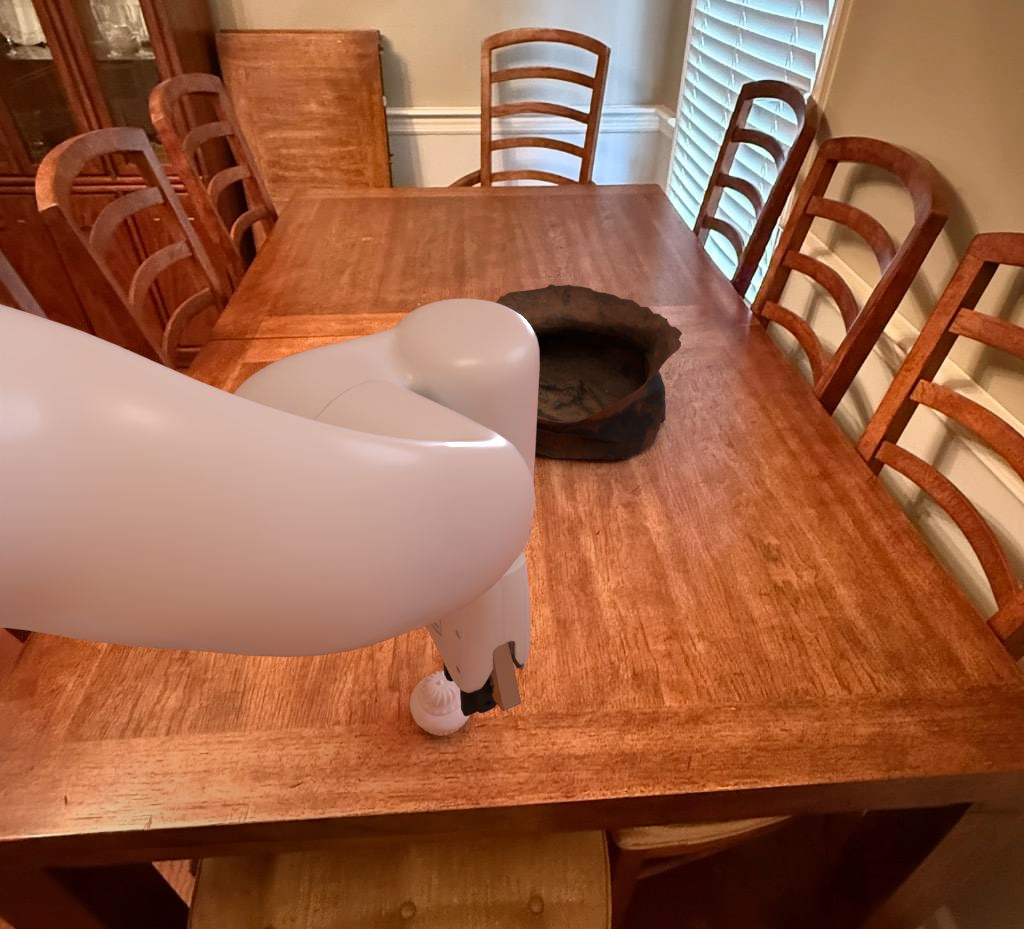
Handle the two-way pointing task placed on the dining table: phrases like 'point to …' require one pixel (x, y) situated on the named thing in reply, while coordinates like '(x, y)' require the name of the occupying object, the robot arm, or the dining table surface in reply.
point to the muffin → (437, 705)
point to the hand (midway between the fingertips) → (473, 687)
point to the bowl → (596, 371)
